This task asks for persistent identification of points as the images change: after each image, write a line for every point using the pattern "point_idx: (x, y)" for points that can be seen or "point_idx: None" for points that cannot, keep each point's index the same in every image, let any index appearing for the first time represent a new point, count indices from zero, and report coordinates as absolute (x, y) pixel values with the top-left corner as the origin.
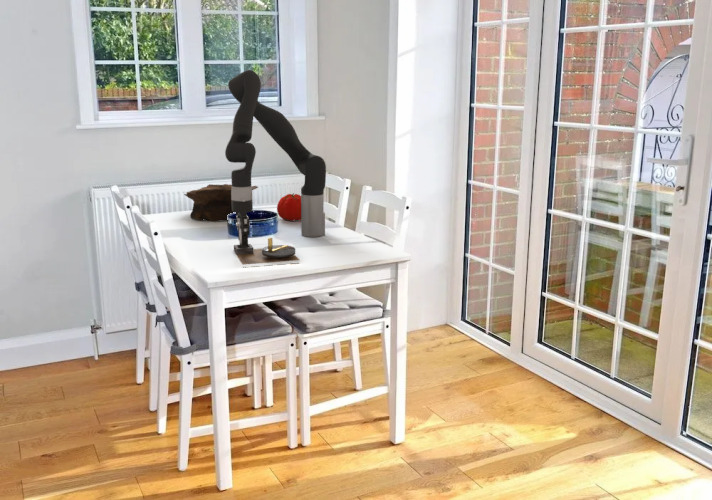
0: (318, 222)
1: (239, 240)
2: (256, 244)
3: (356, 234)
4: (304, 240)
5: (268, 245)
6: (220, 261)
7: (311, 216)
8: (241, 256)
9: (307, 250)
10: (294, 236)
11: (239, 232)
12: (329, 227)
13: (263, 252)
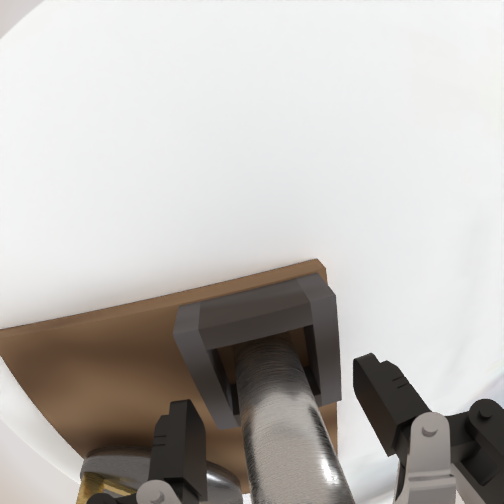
0: (457, 489)
1: (273, 393)
2: (462, 346)
3: None
4: None
5: (77, 500)
6: (84, 182)
7: (472, 493)
8: (132, 340)
9: None
10: None
11: (279, 473)
12: None
13: (101, 458)
